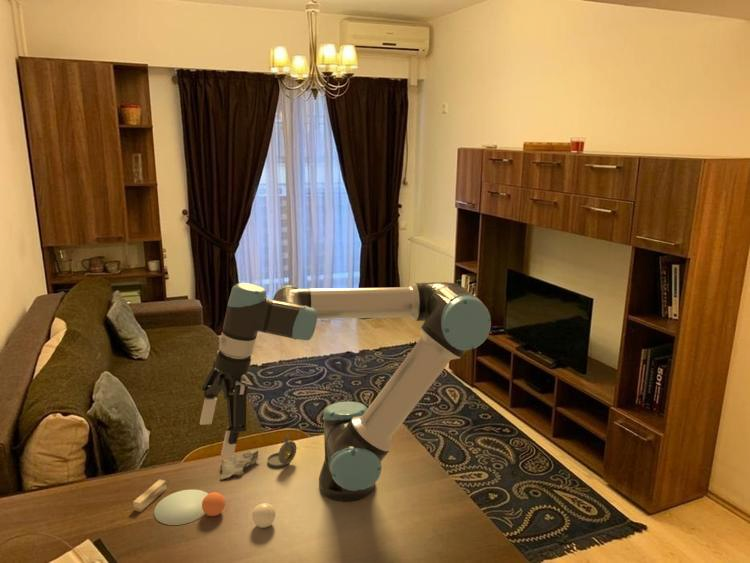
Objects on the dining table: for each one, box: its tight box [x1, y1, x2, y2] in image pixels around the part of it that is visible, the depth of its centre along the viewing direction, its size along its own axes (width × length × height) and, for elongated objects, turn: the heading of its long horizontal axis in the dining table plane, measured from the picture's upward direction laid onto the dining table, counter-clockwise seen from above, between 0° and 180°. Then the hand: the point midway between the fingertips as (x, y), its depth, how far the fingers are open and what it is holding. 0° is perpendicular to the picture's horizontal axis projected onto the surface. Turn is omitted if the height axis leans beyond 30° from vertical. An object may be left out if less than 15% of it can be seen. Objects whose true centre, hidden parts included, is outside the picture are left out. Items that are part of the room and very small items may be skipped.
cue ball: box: [251, 502, 276, 529], centre depth 134 cm, size 6×6×6 cm
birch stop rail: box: [132, 479, 168, 513], centre depth 144 cm, size 10×2×2 cm, turn 162°
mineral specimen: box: [219, 450, 261, 480], centre depth 157 cm, size 6×12×4 cm, turn 118°
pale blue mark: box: [153, 489, 209, 526], centre depth 141 cm, size 14×14×1 cm
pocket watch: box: [266, 433, 297, 468], centre depth 159 cm, size 8×8×10 cm
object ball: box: [202, 491, 226, 517], centre depth 138 cm, size 6×6×6 cm
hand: (215, 438), depth 127 cm, fingers open, 13 cm apart
